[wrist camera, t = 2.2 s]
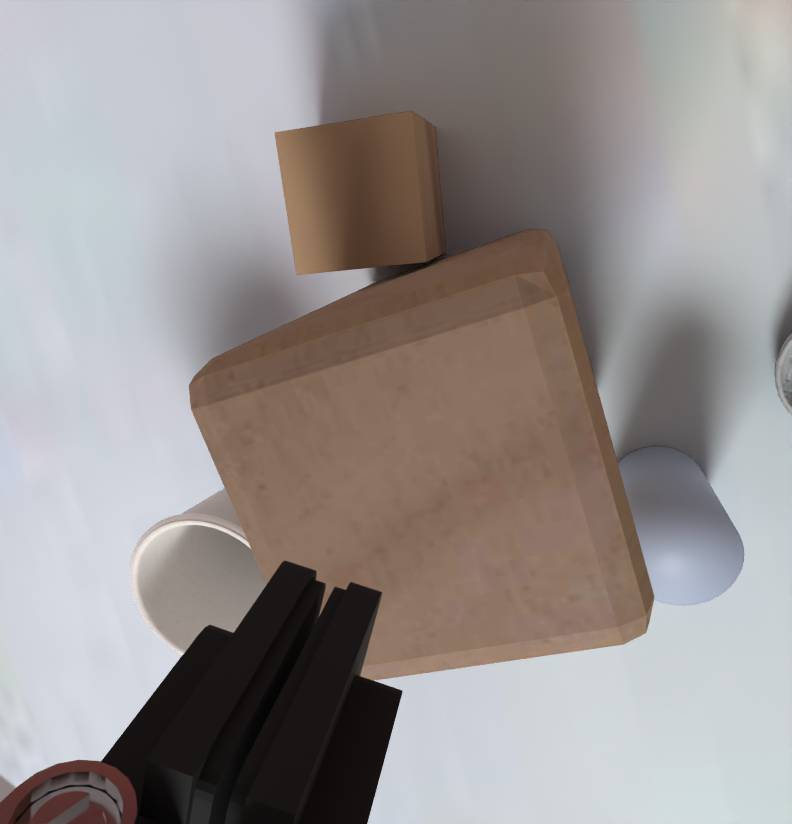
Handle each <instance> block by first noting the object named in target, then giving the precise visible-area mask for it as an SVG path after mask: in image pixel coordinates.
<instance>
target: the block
mask: <svg viewBox="0 0 792 824" xmlns="http://www.w3.org/2000/svg"><path fill="white" fill-rule="evenodd" d="M189 391H190V402H191V410H192V412H193V415H194V417H195V419H196V422H197V424H198V426H199V429H200V431H201V433H202V436H203V438H204V440H205V443H206V445H207V447H208V450H209V452H210V454H211V457H212V459H213V461H214V464H215V466H216V468H217V471H218V473H219V475H220V477H221V480H222V482H223V484H224V487H225V489H226V491H227V494H228V496H229V498H230V501H231V503H232V505H233V508H234V510H235V512H236V515H237V517H238V519H239V522H240V524H241V526H242V529H243V531H244V533H245V536H246V538H247V540H248V543H249V545H250V547H251V550H252V552H253V554H254V557H255V559H256V561H257V564H258V566H259V568H260V571H261V573H262V575H263V578H264V580H265V582H266V585H267V583H268V582H269V580H270V579H271V578H272V576H273V575H274V573H275V572H276V570H277V569H278V567H279V566H280V565H281V563H282V562H283V561H285V560H286V561H289V562H292V563H295V564H298V565H301V566H304V567H307V568H310V569H313V570H316V572H317V576H316V580H317V581H320V582H323V583H325V584H326V588H325V593H324V597H323V601H322V606H321V610H320V614H321V612H322V610H323V608H324V606H325V604H326V602H327V600H328V598H329V596H330V594H331V593H332V591H333V589H334V587H335V586H336V587H339V588H342V589H345V590H346V589H347V587H348V585H349V583H350V582H353V583H356V584H359V585H362V586H365V587H368V588H371V589H374V590H377V591H380V592H382V596H381V600H380V604H379V608H378V612H377V615H376V619H375V623H374V627H373V630H372V634H371V638H370V641H369V645H368V649H367V653H366V656H365V660H364V664H363V667H362V671H361V675H360V676H361V677H364V678H367V679H370V680H380V679H387V678H394V677H401V676H408V675H415V674H422V673H428V672H435V671H442V670H449V669H456V668H463V667H470V666H477V665H484V664H491V663H498V662H505V661H512V660H519V659H526V658H532V657H539V656H546V655H553V654H560V653H567V652H574V651H581V650H588V649H595V648H602V647H609V646H616V645H623V644H625V643H627V642H629V641H631V640H633V639H635V638H637V637H639V636H641V635H643V634H645V633H646V631H647V628H648V624H649V621H650V616H651V611H652V606H653V602H654V597H655V596H654V593H653V589H652V586H651V582H650V578H649V575H648V571H647V567H646V564H645V560H644V557H643V553H642V549H641V546H640V542H639V538H638V535H637V531H636V527H635V524H634V520H633V517H632V513H631V509H630V506H629V502H628V498H627V495H626V491H625V488H624V484H623V480H622V477H621V473H620V469H619V466H618V462H617V459H616V455H615V451H614V448H613V444H612V440H611V437H610V433H609V430H608V426H607V422H606V419H605V415H604V411H603V408H602V404H601V400H600V397H599V393H598V390H597V386H596V382H595V379H594V375H593V371H592V368H591V364H590V361H589V357H588V353H587V350H586V346H585V342H584V339H583V335H582V332H581V328H580V324H579V321H578V317H577V313H576V310H575V306H574V303H573V299H572V295H571V292H570V288H569V284H568V281H567V277H566V274H565V270H564V267H563V263H562V260H561V256H560V253H559V249H558V246H557V242H556V241H555V240H554V239H553V237H552V236H551V235H550V234H549V232H548V231H547V230H540V229H529V230H526V231H523V232H520V233H517V234H514V235H511V236H508V237H505V238H502V239H499V240H497V241H494V242H491V243H488V244H485V245H482V246H479V247H476V248H473V249H470V250H467V251H465V252H462V253H459V254H456V255H453V256H450V257H447V258H444V259H441V260H438V261H435V262H433V263H430V264H427V265H424V266H421V267H418V268H415V269H412V270H409V271H406V272H403V273H401V274H398V275H395V276H392V277H389V278H386V279H383V280H380V281H378V282H376V283H373V284H371V285H369V286H367V287H365V288H363V289H361V290H358V291H356V292H354V293H352V294H350V295H348V296H346V297H343V298H341V299H339V300H337V301H335V302H333V303H331V304H328V305H326V306H324V307H322V308H320V309H318V310H316V311H313V312H311V313H309V314H307V315H305V316H303V317H301V318H298V319H296V320H294V321H292V322H290V323H288V324H285V325H283V326H281V327H279V328H277V329H275V330H273V331H270V332H268V333H266V334H264V335H262V336H260V337H258V338H255V339H253V340H251V341H249V342H247V343H245V344H243V345H240V346H238V347H236V348H234V349H232V350H230V351H228V352H225V353H223V354H221V355H219V356H217V357H215V358H213V359H211V360H210V361H209V362H208V363H207V364H206V365H205V366H204V367H203V368H202V369H201V370H200V371H199V372H198V373H197V374H196V375H195V376H194V378H193V379H192V381H191V383H190V385H189ZM320 614H319V616H320Z"/></svg>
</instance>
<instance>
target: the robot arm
mask: <svg viewBox="0 0 792 824" xmlns="http://www.w3.org/2000/svg"><path fill="white" fill-rule="evenodd" d="M316 576H317V572H316V570H313V569H310V568H307V567H304V566H301V565H298V564H295V563H292V562H289V561H286V560H285V561H283V562H282V563H281V565H280V566H279V567H278V569H277V570H276V572H275V573H274V575H273V576H272V578H271V579H270V580H269V582H268V583H267V585H266V586H265V588H264V589H263V591H262V592H261V594H260V595H259V596H258V598H257V599H256V601H255V602H254V604H253V605H252V607H251V608H250V610H249V611H248V612H247V614H246V615H245V617H244V618H243V620H242V621H241V623H240V624H239V626H238V627H237V628H236V630H235V631H234V633H233V632H230V631H227V630H224V629H221V628H218V627H215V626H213V625H208V626H206V627H205V628H204V629H203V630H202V631H201V632H200V633H199V634H198V636H197V637H196V638H195V640H194V641H193V642H192V644H191V645H190V646H189V648H188V649H187V650H186V651H185V653H184V654H183V655H182V657H181V658H180V659H179V661H178V662H177V663H176V665H175V666H174V667H173V668H172V670H171V671H170V672H169V674H168V675H167V676H166V678H165V679H164V680H163V682H162V683H161V684H160V685H159V687H158V688H157V689H156V691H155V692H154V693H153V695H152V696H151V697H150V699H149V700H148V701H147V702H146V704H145V705H144V706H143V708H142V709H141V710H140V712H139V713H138V714H137V715H136V717H135V718H134V719H133V721H132V722H131V723H130V725H129V726H128V727H127V729H126V730H125V731H124V732H123V734H122V735H121V736H120V738H119V739H118V740H117V742H116V743H115V744H114V746H113V747H112V748H111V749H110V751H109V752H108V753H107V755H106V756H105V757H104V759H103V760H102V761H101V762H99V761H89V760H75V761H70V762H65V763H59V764H56V765H54V766H51V767H49V768H47V769H44V770H42V771H40V772H37V773H36V774H34V775H33V776H31V777H30V778H29V779H27V780H26V781H25V782H23V783H22V784H20V785H19V786H18V787H16V788H15V789H14V790H13V791H12V792H11V793H10V794H9V795H8V796H7V797H5V798H4V799H3V800H2V801H1V802H0V824H367V822H368V819H369V815H370V811H371V807H372V804H373V800H374V796H375V792H376V789H377V785H378V781H379V777H380V774H381V770H382V766H383V762H384V759H385V755H386V751H387V748H388V744H389V740H390V736H391V733H392V729H393V725H394V721H395V718H396V714H397V710H398V706H399V703H400V699H401V695H402V690H399V689H396V688H393V687H390V686H387V685H384V684H381V683H378V682H375V681H373V680H370V679H367V678H364V677H361V676H360V675H361V671H362V667H363V664H364V660H365V656H366V653H367V649H368V645H369V641H370V638H371V634H372V630H373V627H374V623H375V619H376V615H377V612H378V608H379V604H380V600H381V596H382V592H380V591H377V590H374V589H371V588H368V587H365V586H362V585H359V584H356V583H353V582H350V583H349V585H348V587H347V589H346V590H345V589H342V588H339V587H336V586H335V587H334V589H333V591H332V593H331V594H330V596H329V598H328V600H327V602H326V604H325V606H324V608H323V610H322V612H321V614H320V610H321V606H322V601H323V597H324V593H325V588H326V584H325V583H323V582H320V581H317V580H316ZM319 614H320V616H319Z"/></svg>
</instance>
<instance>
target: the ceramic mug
mask: <svg viewBox="0 0 792 824" xmlns="http://www.w3.org/2000/svg"><path fill="white" fill-rule="evenodd" d="M775 382H776V387H777V391H778V395H779V398H780V399H781V401H782V403H783V404H784V406H785V408H786V409H787V411H788V412H789V413H790V414H791V415H792V333H791V334H790V335H789V336H788V337H787V338H786V340H785V342H784V343H783V345H782V347H781V349H780V352H779V355H778V358H777V361H776V364H775Z"/></svg>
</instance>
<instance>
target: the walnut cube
mask: <svg viewBox="0 0 792 824" xmlns="http://www.w3.org/2000/svg"><path fill="white" fill-rule="evenodd" d="M275 138H276V145H277V151H278V158H279V164H280V171H281V177H282V184H283V190H284V197H285V203H286V210H287V216H288V223H289V229H290V236H291V242H292V249H293V255H294V262H295V268H296V275H302V274H312V273H322V272H331V271H341V270H351V269H361V268H371V267H381V266H391V265H401V264H411V263H421V262H428V261H429V260H431V259H433V258H435V257H437V256H439V255H441V254H443V253H445V252H446V244H445V233H444V221H443V210H442V199H441V187H440V176H439V165H438V153H437V142H436V130H435V126H433V125H432V124H430V123H429V122H428V121H426V120H425V119H423V118H422V117H420V116H419V115H417V114H416V113H414V112H413V111H408V112H401V113H395V114H389V115H382V116H376V117H370V118H363V119H357V120H351V121H344V122H338V123H332V124H325V125H319V126H313V127H306V128H300V129H294V130H287V131H281V132H275Z"/></svg>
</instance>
